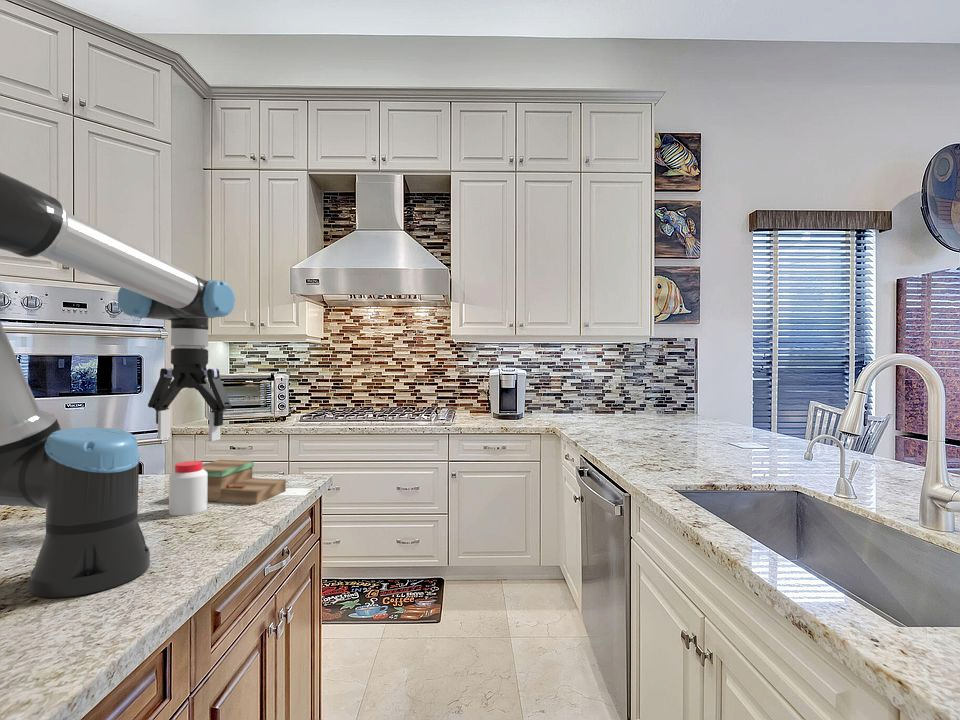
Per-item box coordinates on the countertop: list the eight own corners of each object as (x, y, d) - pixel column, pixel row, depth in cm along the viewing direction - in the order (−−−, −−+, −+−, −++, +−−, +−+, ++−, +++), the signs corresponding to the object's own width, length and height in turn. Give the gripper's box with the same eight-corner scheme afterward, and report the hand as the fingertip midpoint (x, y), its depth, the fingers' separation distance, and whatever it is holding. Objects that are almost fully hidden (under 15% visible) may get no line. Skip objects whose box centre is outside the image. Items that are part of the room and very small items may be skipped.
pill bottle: (214, 506, 117) (215, 460, 117) (192, 516, 109) (193, 467, 109) (184, 505, 118) (184, 459, 118) (160, 515, 110) (160, 466, 110)
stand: (255, 504, 119) (256, 473, 119) (184, 499, 123) (185, 469, 123) (285, 491, 131) (285, 462, 131) (220, 486, 135) (220, 459, 135)
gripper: (248, 348, 115) (247, 438, 115) (157, 348, 120) (156, 435, 120) (225, 347, 108) (224, 443, 108) (130, 347, 113) (129, 439, 113)
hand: (189, 439), depth 114 cm, fingers open, 13 cm apart
